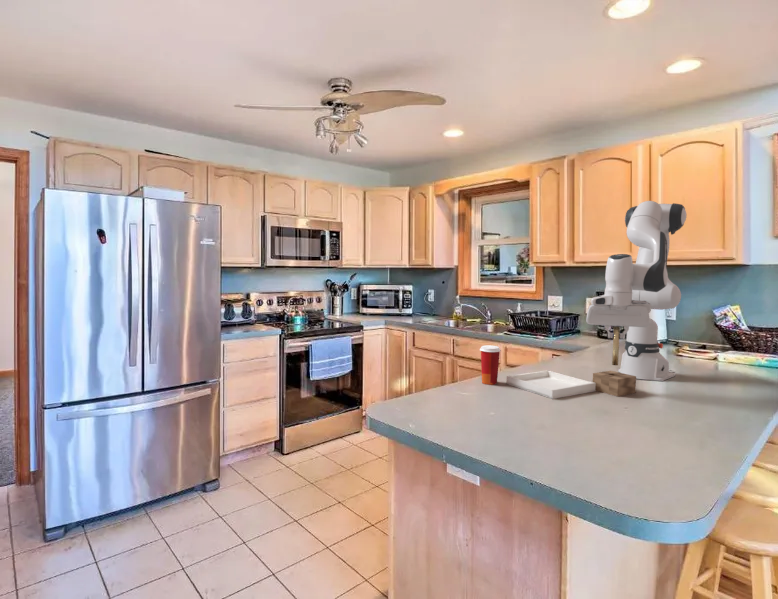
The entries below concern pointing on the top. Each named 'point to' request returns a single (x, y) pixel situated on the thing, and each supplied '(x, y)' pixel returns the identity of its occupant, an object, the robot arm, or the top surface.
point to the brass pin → (615, 345)
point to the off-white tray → (550, 384)
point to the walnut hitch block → (614, 383)
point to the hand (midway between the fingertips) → (616, 338)
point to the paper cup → (489, 364)
